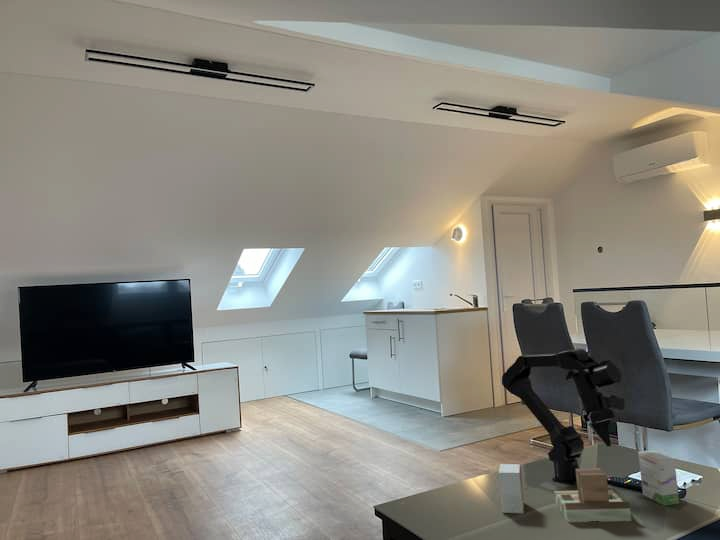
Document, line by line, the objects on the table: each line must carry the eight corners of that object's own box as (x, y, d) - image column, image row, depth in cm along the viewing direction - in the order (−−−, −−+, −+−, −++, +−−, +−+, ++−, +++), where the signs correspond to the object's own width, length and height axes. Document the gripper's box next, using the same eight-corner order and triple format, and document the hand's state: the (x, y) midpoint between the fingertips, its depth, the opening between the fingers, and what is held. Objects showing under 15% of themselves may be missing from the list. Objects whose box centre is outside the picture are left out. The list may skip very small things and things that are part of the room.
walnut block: (578, 500, 135) (575, 469, 135) (603, 500, 134) (599, 468, 134) (584, 508, 130) (581, 475, 130) (609, 507, 129) (606, 474, 129)
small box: (523, 514, 136) (519, 473, 137) (501, 513, 138) (498, 472, 138) (524, 502, 144) (520, 463, 144) (503, 501, 145) (499, 463, 146)
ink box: (680, 504, 135) (675, 457, 136) (663, 506, 135) (657, 459, 135) (658, 492, 144) (653, 449, 144) (642, 494, 143) (637, 450, 144)
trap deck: (555, 502, 142) (553, 485, 142) (613, 501, 140) (611, 483, 140) (567, 522, 129) (565, 503, 130) (631, 521, 127) (629, 502, 128)
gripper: (622, 382, 142) (646, 440, 137) (610, 385, 159) (631, 437, 154) (581, 392, 144) (603, 450, 139) (573, 395, 161) (593, 447, 156)
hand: (608, 446), depth 147 cm, fingers closed
